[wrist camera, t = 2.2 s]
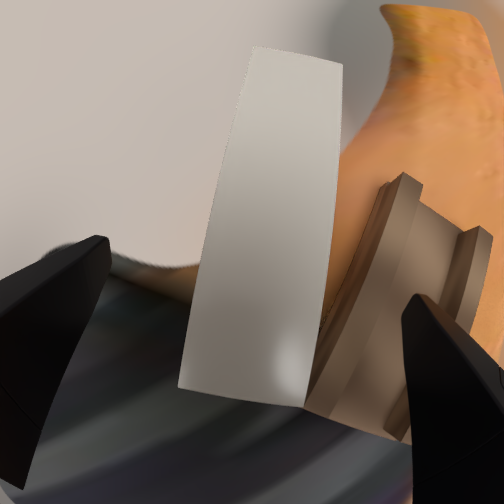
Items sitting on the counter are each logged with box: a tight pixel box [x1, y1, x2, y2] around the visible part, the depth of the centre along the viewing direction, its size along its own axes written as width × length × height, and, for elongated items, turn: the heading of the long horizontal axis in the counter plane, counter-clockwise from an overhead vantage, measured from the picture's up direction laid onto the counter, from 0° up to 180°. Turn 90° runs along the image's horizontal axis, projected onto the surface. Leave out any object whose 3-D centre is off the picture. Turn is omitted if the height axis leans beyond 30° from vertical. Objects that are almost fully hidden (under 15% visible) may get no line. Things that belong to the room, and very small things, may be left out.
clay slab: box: [178, 46, 343, 407], centre depth 14 cm, size 12×4×10 cm, turn 170°
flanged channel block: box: [300, 172, 493, 445], centre depth 17 cm, size 15×8×4 cm, turn 153°
